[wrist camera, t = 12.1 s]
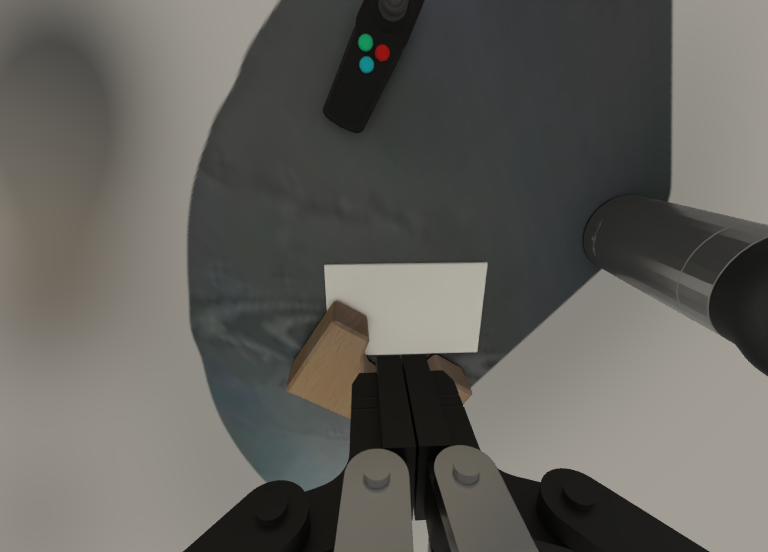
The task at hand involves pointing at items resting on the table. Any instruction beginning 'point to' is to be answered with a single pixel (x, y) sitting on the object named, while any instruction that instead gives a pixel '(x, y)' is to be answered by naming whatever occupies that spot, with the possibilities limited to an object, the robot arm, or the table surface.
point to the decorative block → (345, 361)
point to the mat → (413, 304)
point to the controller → (370, 60)
